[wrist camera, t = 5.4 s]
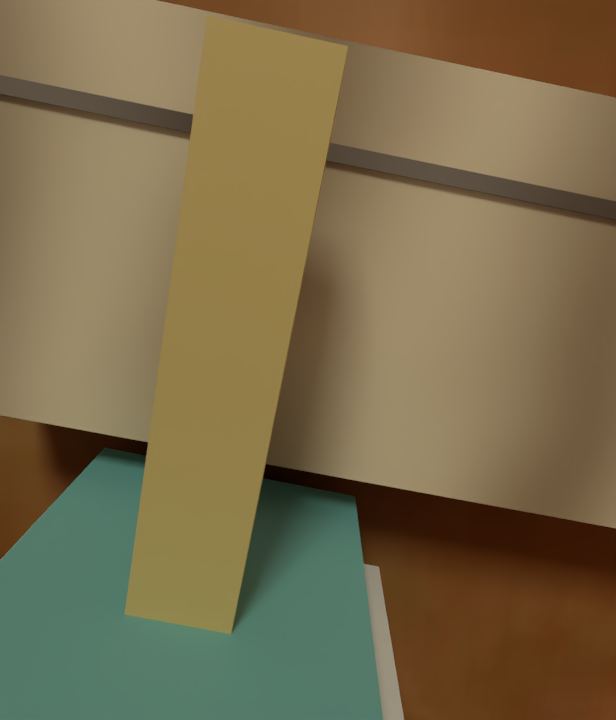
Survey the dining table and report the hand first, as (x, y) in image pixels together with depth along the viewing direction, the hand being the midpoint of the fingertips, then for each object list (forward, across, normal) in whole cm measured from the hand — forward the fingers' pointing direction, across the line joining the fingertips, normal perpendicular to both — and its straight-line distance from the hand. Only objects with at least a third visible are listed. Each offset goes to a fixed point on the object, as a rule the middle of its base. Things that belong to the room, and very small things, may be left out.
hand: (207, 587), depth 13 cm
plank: (+2, +6, +8) cm, 10 cm away
